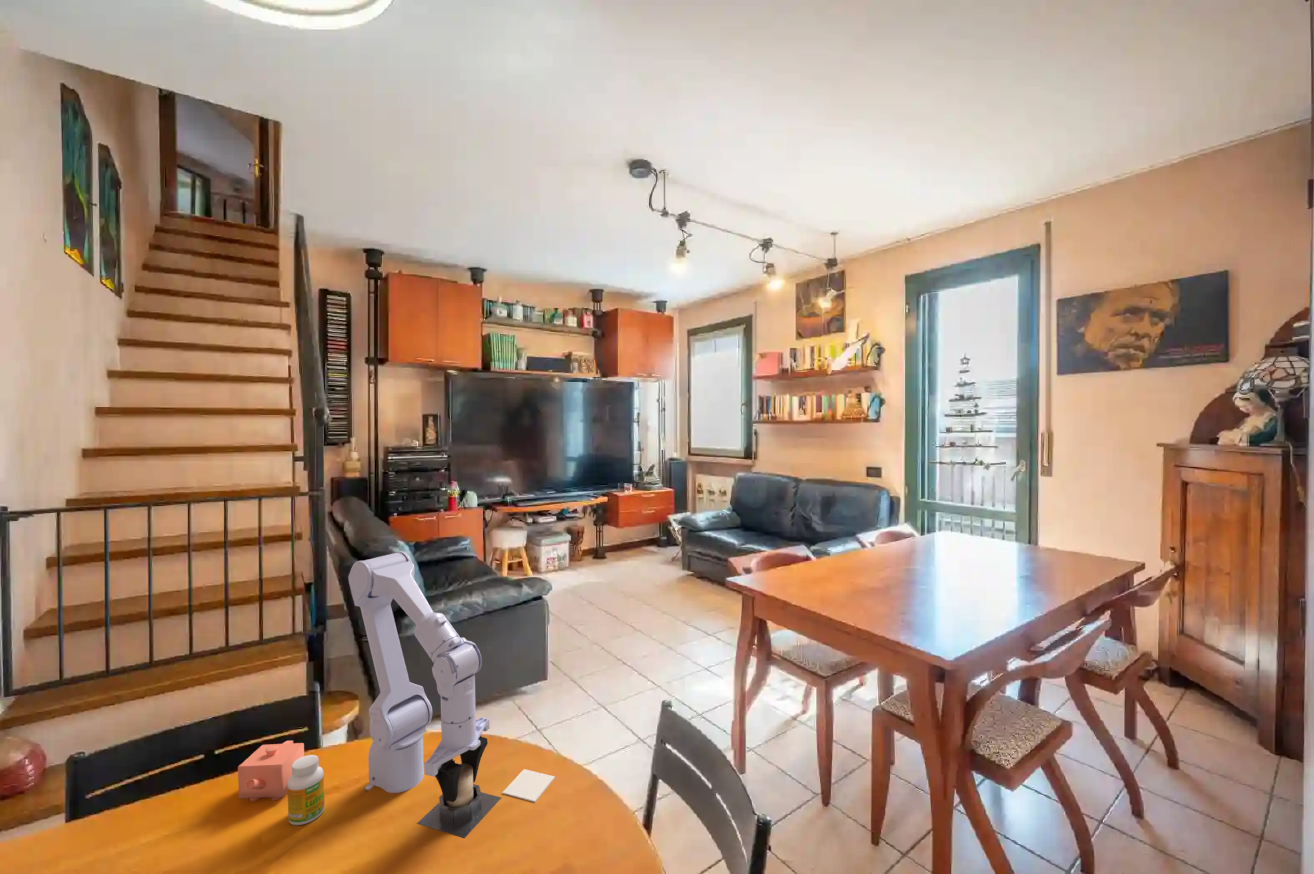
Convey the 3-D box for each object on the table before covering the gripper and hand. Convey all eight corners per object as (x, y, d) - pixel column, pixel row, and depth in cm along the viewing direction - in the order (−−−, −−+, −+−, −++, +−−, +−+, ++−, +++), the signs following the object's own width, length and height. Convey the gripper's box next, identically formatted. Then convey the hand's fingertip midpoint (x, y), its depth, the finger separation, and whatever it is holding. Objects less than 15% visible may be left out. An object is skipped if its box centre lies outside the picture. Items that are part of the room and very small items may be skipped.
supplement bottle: (307, 828, 92) (305, 773, 92) (280, 823, 93) (278, 769, 93) (331, 806, 98) (330, 753, 97) (306, 802, 99) (305, 750, 98)
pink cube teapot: (226, 817, 95) (224, 771, 95) (270, 772, 107) (269, 732, 107) (272, 814, 96) (270, 769, 95) (311, 770, 108) (309, 730, 107)
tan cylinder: (441, 815, 94) (440, 776, 94) (458, 798, 98) (458, 761, 98) (462, 821, 92) (461, 782, 92) (478, 804, 96) (478, 766, 96)
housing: (417, 827, 92) (416, 808, 92) (457, 789, 102) (456, 772, 101) (464, 842, 89) (464, 823, 89) (501, 801, 98) (501, 784, 98)
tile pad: (502, 797, 99) (502, 792, 99) (524, 773, 106) (523, 768, 106) (535, 806, 97) (535, 800, 97) (555, 781, 104) (555, 776, 103)
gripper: (447, 742, 86) (449, 824, 87) (502, 698, 100) (503, 769, 100) (413, 734, 89) (415, 814, 89) (471, 692, 102) (472, 761, 103)
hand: (460, 790), depth 95 cm, fingers open, 4 cm apart
